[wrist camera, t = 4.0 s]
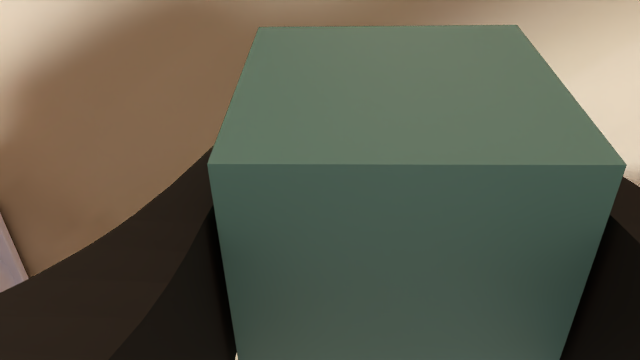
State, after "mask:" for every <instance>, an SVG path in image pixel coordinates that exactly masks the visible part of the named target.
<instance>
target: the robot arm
mask: <svg viewBox="0 0 640 360" xmlns="http://www.w3.org/2000/svg"><path fill="white" fill-rule="evenodd" d="M213 147H214V146H213ZM213 147H212V148H210V149H209V150H208V151H207V152H206V153H205V154H204V155H203V156H202V157H201V158H200V159H199V160H198V161H197V162H196V163H195V164H194V165H193V166H191V167H190V168H189V169H188V170H187V171H186V172H185V173H184V174H183V175H182V176H180V177H179V178H178V179H177V180H176V181H175V182H174V183H173V184H172V185H170V186H169V187H168V188H167V189H166V190H164V191H163V192H162V193H161V194H159V195H158V196H157V197H156V198H154V199H153V200H152V201H151V202H149V203H148V204H147V205H146V206H145V207H143V208H142V209H141V210H140V211H138V212H137V213H136V214H135V215H133V216H132V217H130V218H129V219H128V220H126V221H125V222H123V223H122V224H121V225H119V226H118V227H116V228H115V229H113V230H112V231H110V232H109V233H107V234H106V235H104V236H103V237H101V238H100V239H98V240H97V241H95V242H94V243H92V244H90V245H89V246H87V247H85V248H84V249H82V250H80V251H79V252H77V253H75V254H73V255H71V256H70V257H68V258H66V259H64V260H62V261H61V262H59V263H57V264H55V265H53V266H52V267H50V268H48V269H46V270H44V271H42V272H41V273H39V274H37V275H35V276H33V277H31V278H28V276H27V273H26V271H25V269H24V267H23V264H22V262H21V260H20V257H19V255H18V253H17V250H16V248H15V246H14V244H13V241H12V239H11V237H10V234H9V232H8V230H7V227H6V225H5V223H4V221H3V218H2V216H1V214H0V360H235V357H236V353H237V349H236V343H235V336H234V330H233V324H232V317H231V311H230V305H229V299H228V292H227V286H226V280H225V273H224V267H223V261H222V254H221V248H220V242H219V236H218V229H217V223H216V217H215V210H214V204H213V198H212V192H211V185H210V179H209V173H208V166H207V163H208V160H209V158H210V155H211V153H212V150H213ZM560 360H640V187H639V186H637V185H635V184H634V183H632V182H631V181H629V180H627V179H626V178H624V177H622V180H621V183H620V186H619V189H618V191H617V194H616V197H615V200H614V203H613V206H612V209H611V212H610V215H609V218H608V220H607V223H606V226H605V229H604V232H603V235H602V238H601V241H600V244H599V247H598V249H597V252H596V255H595V258H594V261H593V264H592V267H591V270H590V273H589V276H588V278H587V281H586V284H585V287H584V290H583V293H582V296H581V299H580V302H579V304H578V307H577V310H576V313H575V316H574V319H573V322H572V325H571V328H570V331H569V333H568V336H567V339H566V342H565V345H564V348H563V351H562V354H561V357H560Z"/></svg>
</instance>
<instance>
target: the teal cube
mask: <svg viewBox="0 0 640 360" xmlns="http://www.w3.org/2000/svg"><path fill="white" fill-rule="evenodd" d="M207 166H208V173H209V179H210V185H211V192H212V198H213V204H214V210H215V217H216V223H217V229H218V236H219V242H220V248H221V254H222V261H223V267H224V273H225V280H226V286H227V292H228V299H229V305H230V311H231V317H232V324H233V330H234V336H235V343H236V349H237V355H238V360H560V357H561V354H562V351H563V348H564V345H565V342H566V339H567V336H568V333H569V331H570V328H571V325H572V322H573V319H574V316H575V313H576V310H577V307H578V304H579V302H580V299H581V296H582V293H583V290H584V287H585V284H586V281H587V278H588V276H589V273H590V270H591V267H592V264H593V261H594V258H595V255H596V252H597V249H598V247H599V244H600V241H601V238H602V235H603V232H604V229H605V226H606V223H607V220H608V218H609V215H610V212H611V209H612V206H613V203H614V200H615V197H616V194H617V191H618V189H619V186H620V183H621V180H622V177H623V174H624V171H625V168H626V163H625V162H624V161H623V160H622V158H621V157H620V156H619V155H618V153H617V152H616V151H615V149H614V148H613V147H612V146H611V144H610V143H609V142H608V141H607V139H606V138H605V137H604V135H603V134H602V133H601V132H600V130H599V129H598V128H597V126H596V125H595V124H594V123H593V121H592V120H591V119H590V118H589V116H588V115H587V114H586V112H585V111H584V110H583V109H582V107H581V106H580V105H579V103H578V102H577V101H576V100H575V98H574V97H573V96H572V95H571V93H570V92H569V91H568V89H567V88H566V87H565V86H564V84H563V83H562V82H561V81H560V79H559V78H558V77H557V75H556V74H555V73H554V72H553V70H552V69H551V68H550V66H549V65H548V64H547V63H546V61H545V60H544V59H543V58H542V56H541V55H540V54H539V52H538V51H537V50H536V49H535V47H534V46H533V45H532V43H531V42H530V41H529V40H528V38H527V37H526V36H525V35H524V33H523V32H522V31H521V29H520V28H519V27H518V26H517V25H453V26H325V27H259V28H258V31H257V33H256V36H255V39H254V41H253V44H252V46H251V49H250V52H249V54H248V57H247V60H246V62H245V65H244V68H243V70H242V73H241V76H240V78H239V81H238V84H237V86H236V89H235V92H234V94H233V97H232V99H231V102H230V105H229V107H228V110H227V113H226V115H225V118H224V121H223V123H222V126H221V129H220V131H219V134H218V137H217V139H216V142H215V145H214V147H213V150H212V153H211V155H210V158H209V160H208V163H207Z"/></svg>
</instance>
